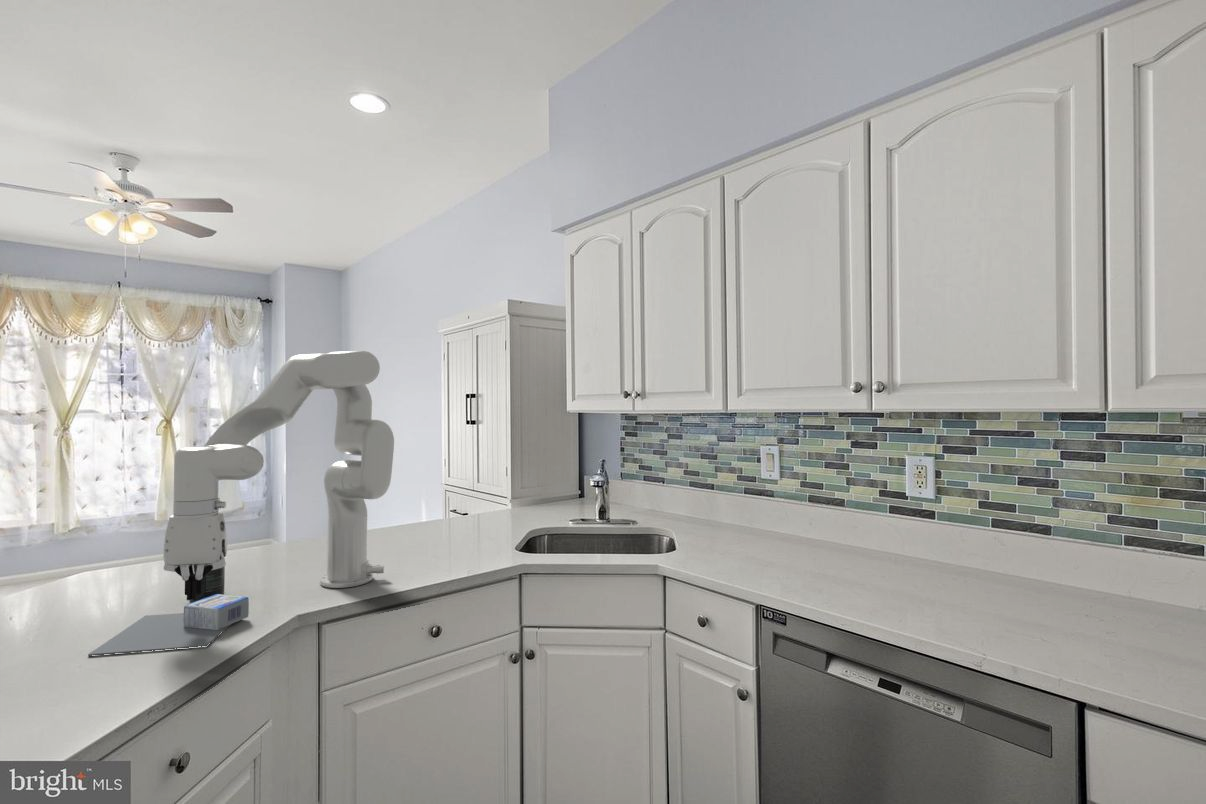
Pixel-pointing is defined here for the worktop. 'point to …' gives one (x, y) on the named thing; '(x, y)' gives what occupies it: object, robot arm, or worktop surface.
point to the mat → (157, 636)
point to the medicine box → (216, 611)
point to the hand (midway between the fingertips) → (194, 597)
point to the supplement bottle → (212, 583)
